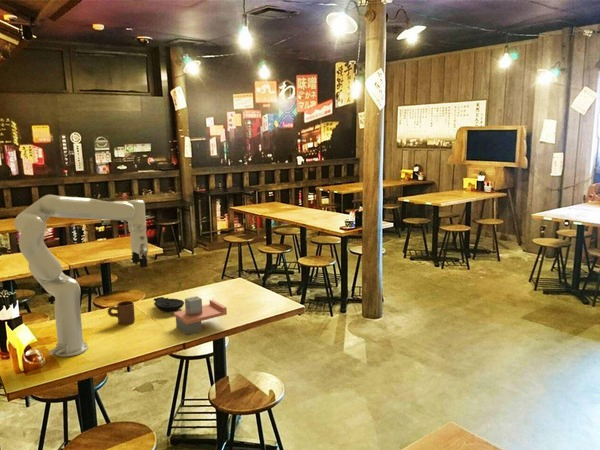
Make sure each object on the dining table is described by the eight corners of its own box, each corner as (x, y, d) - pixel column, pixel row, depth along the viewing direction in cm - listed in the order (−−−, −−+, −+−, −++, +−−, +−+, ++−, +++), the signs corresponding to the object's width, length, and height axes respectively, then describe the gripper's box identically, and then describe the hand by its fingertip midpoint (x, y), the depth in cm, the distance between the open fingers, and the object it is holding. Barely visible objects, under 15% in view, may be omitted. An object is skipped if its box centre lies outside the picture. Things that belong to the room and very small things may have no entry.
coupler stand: (187, 336, 220) (186, 317, 218) (174, 326, 231) (173, 308, 229) (227, 325, 232) (226, 307, 230) (213, 317, 243) (212, 299, 241)
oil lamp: (171, 301, 266) (171, 292, 266) (190, 311, 252) (189, 301, 251) (145, 308, 257) (144, 299, 256) (163, 318, 242) (162, 308, 241)
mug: (111, 328, 230) (109, 309, 228) (106, 323, 236) (105, 304, 234) (137, 322, 236) (135, 304, 235) (132, 318, 243) (130, 299, 241)
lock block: (190, 316, 225) (189, 301, 223) (185, 313, 229) (184, 298, 227) (202, 313, 228) (202, 298, 227) (198, 310, 232) (197, 296, 231)
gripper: (152, 229, 217) (155, 267, 220) (138, 224, 230) (141, 259, 233) (135, 231, 212) (138, 270, 215) (122, 225, 226) (125, 262, 229)
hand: (139, 264), depth 224 cm, fingers open, 9 cm apart
